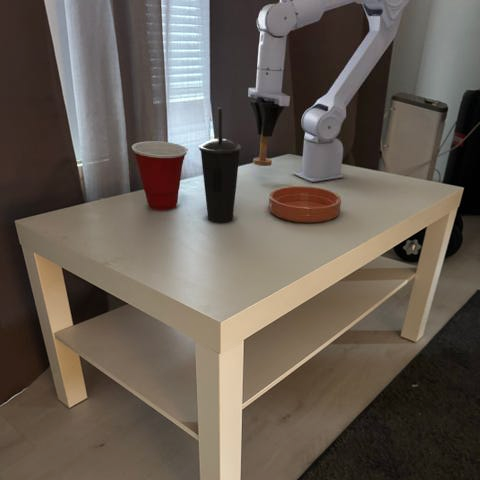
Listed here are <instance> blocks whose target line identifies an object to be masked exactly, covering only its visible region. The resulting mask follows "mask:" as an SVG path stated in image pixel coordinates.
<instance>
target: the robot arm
mask: <svg viewBox="0 0 480 480" xmlns="http://www.w3.org/2000/svg"><path fill="white" fill-rule="evenodd" d="M409 2H410V0H279V2H277V3H270V4H267V5H266V4H265V6H263V7H262V8H261V9H260V11H259V13H258V17H257V18H256V20H255V21H256V27H257V29H258V31H259V43H258V53H257V66H256V67H257V68H256V80H255V81H256V82H255V87H248V90H247V92H248V94H247V97H248V98H254V99H255V100H251V101H250V106H251V108H252V111H253V113H254V117H255V118H254V119H255V122H256V123H255V125H256V130H257V135H259V136H261V131H262V135H263V136H264V137H268V138H271V137H273V134H274V130H275V127H276V124H277V122H278V119H279V118H280V115H281V114H282V112H283V111H284V109H285V107H289V106H290V101H291V96H290V95H287V94H285V93H284V92H282V89H283V81H284V80H283V78H284V67H285V59H286V49H287V37H288V34H289V33H290V32H291V31H295V30H298V29H300V28H303V27H305V26H308V25H311V24H314V23H317V22H319V21H320V20H321V18H322V16H323V14H324V13H325V12H328V11H330V10H333V9H336V8H339V7H343V6H345V5H349V4H353V3H356V4H358V5H362V7H363V10H364V12H365V15H366V18H367V20H368V21H367V22H368V26H369V31H368V33H367V34H366V35H365V37H364V38H363V40H362V42H361V43H360V45H359V46H358V47H357V49H356V50H355V52H353V53H354V54H352V56H351V58H350V59H349V60H348V62H347V64H346V65H345V67H344V69H342V71H341V72H340V74H339V75H338V77H337V78H336V79H335V81H334V83H333V84H332V85H331V87H330V88H329V90H328V91H327V93H325V94H324V95H323V96H322V97H320V98H318V99H316V102H315V103H314V104H313V105H312V106H311V107H308V108H307V109H306V110H305V111H304V113H303V114H302V116H301V119H300V120H301V121H300V124H301V125H300V126H301V128H302V131H304V138H303V148H302V159H301V171H295V172H293V175H295V176H297V177H299V178H302V179H303V180H306V181H308V182H311V183H317V182H323V181H329V180H336V179H342V178H343V175H342V174H341V173H342V167H343V159H344V158H343V157H344V146H343V143H342V141H341V140H340V139H338V136H339V134H340V132H341V129H342V125H343V123H344V121H345V119H346V118H347V106H348V105H349V103H350V102H351V101H352V99H353V98H354V96H356V95H355V94H356V93H357V92H358V90H359V89H360V88H361V86H362V85H363V83H364V82H365V80H366V79H367V78H368V76H369V74H370V73H371V72H372V70H373V69H374V67H375V66H376V64H377V63H378V62H379V60H380V59H381V58H382V56H383V54H384V53H385V52H386V51H387V49H388V48H389V46H390V45H391V44H392V42H393V40H394V39H395V37H396V35H397V33H398V30H399V26H400V22H401V19H402V15H403V13H404V9H405V8H406V6H407V5H408V4H409Z"/></svg>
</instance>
